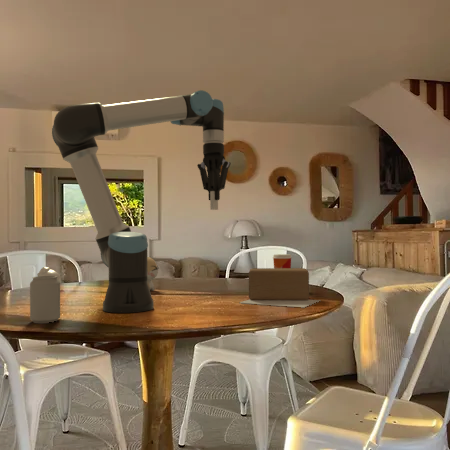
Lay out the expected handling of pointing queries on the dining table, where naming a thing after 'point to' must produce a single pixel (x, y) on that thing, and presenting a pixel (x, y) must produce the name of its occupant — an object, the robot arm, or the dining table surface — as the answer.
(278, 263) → the paper cup
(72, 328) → the dining table surface
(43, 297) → the can
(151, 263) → the kitten
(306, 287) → the block
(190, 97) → the robot arm
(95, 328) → the dining table surface
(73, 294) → the dining table surface
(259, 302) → the felt mat
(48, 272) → the ghost figurine
